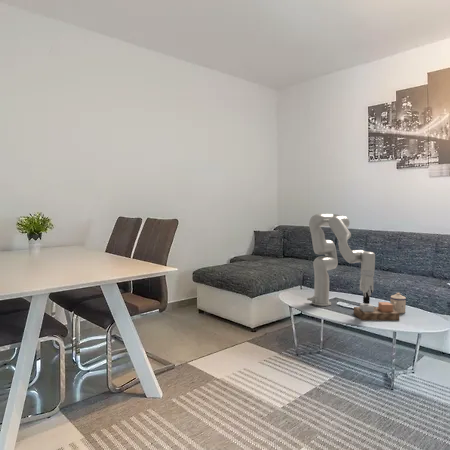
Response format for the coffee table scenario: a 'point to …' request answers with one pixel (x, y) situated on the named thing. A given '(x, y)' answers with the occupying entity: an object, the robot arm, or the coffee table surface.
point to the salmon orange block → (385, 307)
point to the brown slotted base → (376, 314)
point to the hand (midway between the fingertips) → (366, 303)
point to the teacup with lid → (398, 302)
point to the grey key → (366, 307)
